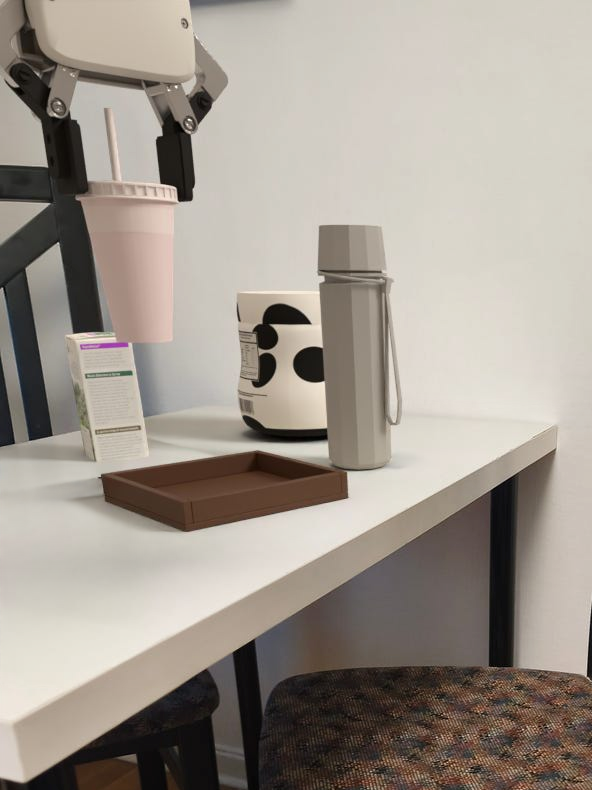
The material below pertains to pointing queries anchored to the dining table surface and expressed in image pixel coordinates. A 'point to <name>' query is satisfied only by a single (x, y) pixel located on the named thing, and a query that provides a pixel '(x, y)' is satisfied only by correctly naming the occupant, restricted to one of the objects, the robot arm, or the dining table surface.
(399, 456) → the dining table surface
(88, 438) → the syrup box
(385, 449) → the water bottle
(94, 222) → the smoothie
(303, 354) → the milk container
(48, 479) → the dining table surface
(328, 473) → the tray
